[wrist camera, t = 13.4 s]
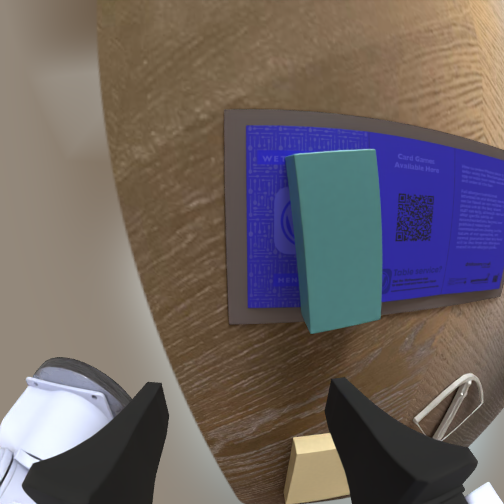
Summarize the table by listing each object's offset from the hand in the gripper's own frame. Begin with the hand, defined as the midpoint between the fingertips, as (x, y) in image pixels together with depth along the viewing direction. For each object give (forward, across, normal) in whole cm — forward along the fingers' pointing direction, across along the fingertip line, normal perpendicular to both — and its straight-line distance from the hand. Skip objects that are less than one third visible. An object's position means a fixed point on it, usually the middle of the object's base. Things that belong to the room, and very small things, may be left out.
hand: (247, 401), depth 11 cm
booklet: (+10, -13, -6) cm, 17 cm away
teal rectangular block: (+10, -6, -5) cm, 12 cm away
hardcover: (+10, -10, +22) cm, 26 cm away
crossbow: (+10, -25, +19) cm, 33 cm away
